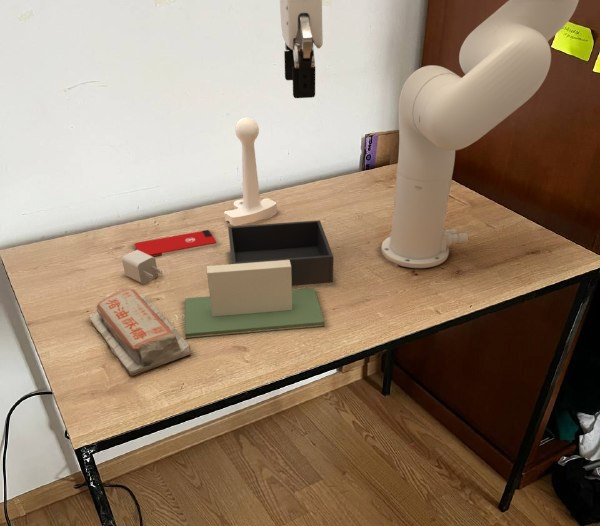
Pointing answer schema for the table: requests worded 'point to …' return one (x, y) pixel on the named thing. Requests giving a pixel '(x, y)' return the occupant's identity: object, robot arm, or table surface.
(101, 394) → the table surface
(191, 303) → the mat
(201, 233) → the electronic device
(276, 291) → the board
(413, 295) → the table surface
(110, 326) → the packaged product
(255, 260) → the bin
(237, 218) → the joystick
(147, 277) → the usb wall charger
